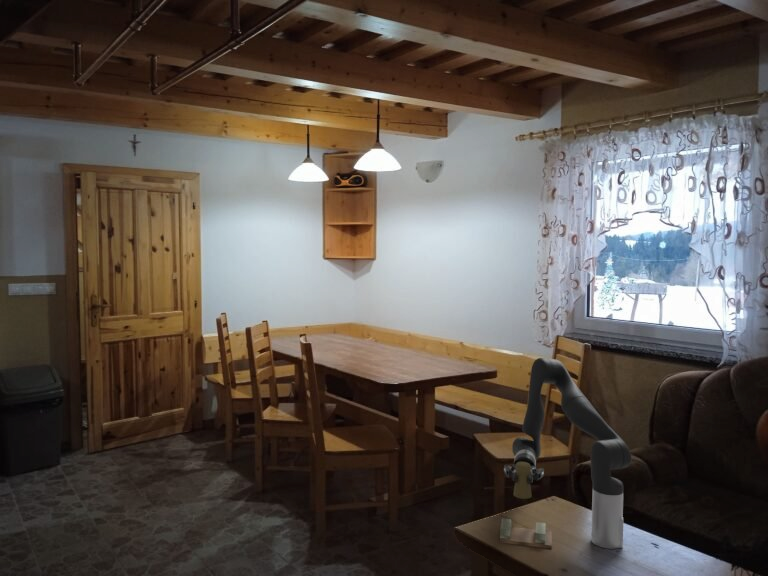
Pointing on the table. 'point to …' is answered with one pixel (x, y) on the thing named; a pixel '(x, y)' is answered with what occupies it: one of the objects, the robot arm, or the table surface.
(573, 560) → the table surface
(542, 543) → the endcap cradle
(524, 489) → the cork
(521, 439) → the robot arm
